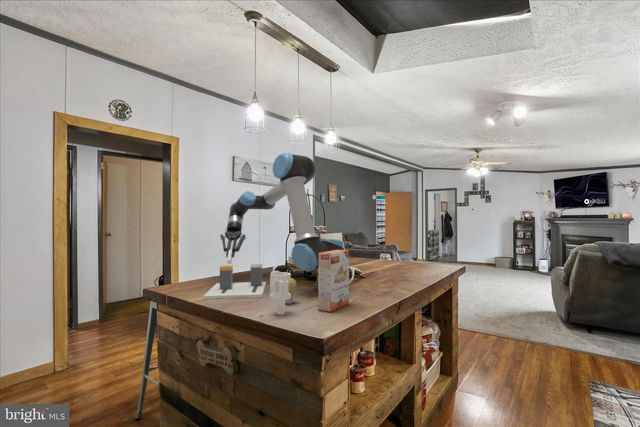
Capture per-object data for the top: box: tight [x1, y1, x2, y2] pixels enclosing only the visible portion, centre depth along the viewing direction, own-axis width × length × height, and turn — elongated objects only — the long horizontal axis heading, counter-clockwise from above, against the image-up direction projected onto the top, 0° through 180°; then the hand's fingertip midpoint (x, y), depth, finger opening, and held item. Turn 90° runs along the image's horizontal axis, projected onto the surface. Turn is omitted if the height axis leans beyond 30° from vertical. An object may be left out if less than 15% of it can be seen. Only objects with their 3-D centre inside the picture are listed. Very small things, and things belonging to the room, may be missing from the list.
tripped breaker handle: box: [219, 264, 234, 289], centre depth 151 cm, size 4×5×10 cm
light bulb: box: [285, 277, 297, 305], centre depth 130 cm, size 6×6×10 cm
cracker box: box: [317, 249, 350, 313], centre depth 124 cm, size 14×6×21 cm, turn 148°
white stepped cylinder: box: [269, 271, 292, 316], centre depth 116 cm, size 7×7×15 cm
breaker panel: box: [202, 281, 267, 300], centre depth 151 cm, size 26×24×1 cm
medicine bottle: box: [269, 265, 288, 296], centre depth 146 cm, size 7×7×12 cm
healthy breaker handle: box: [250, 262, 263, 286], centre depth 157 cm, size 4×5×10 cm
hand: (229, 262), depth 160 cm, fingers closed
